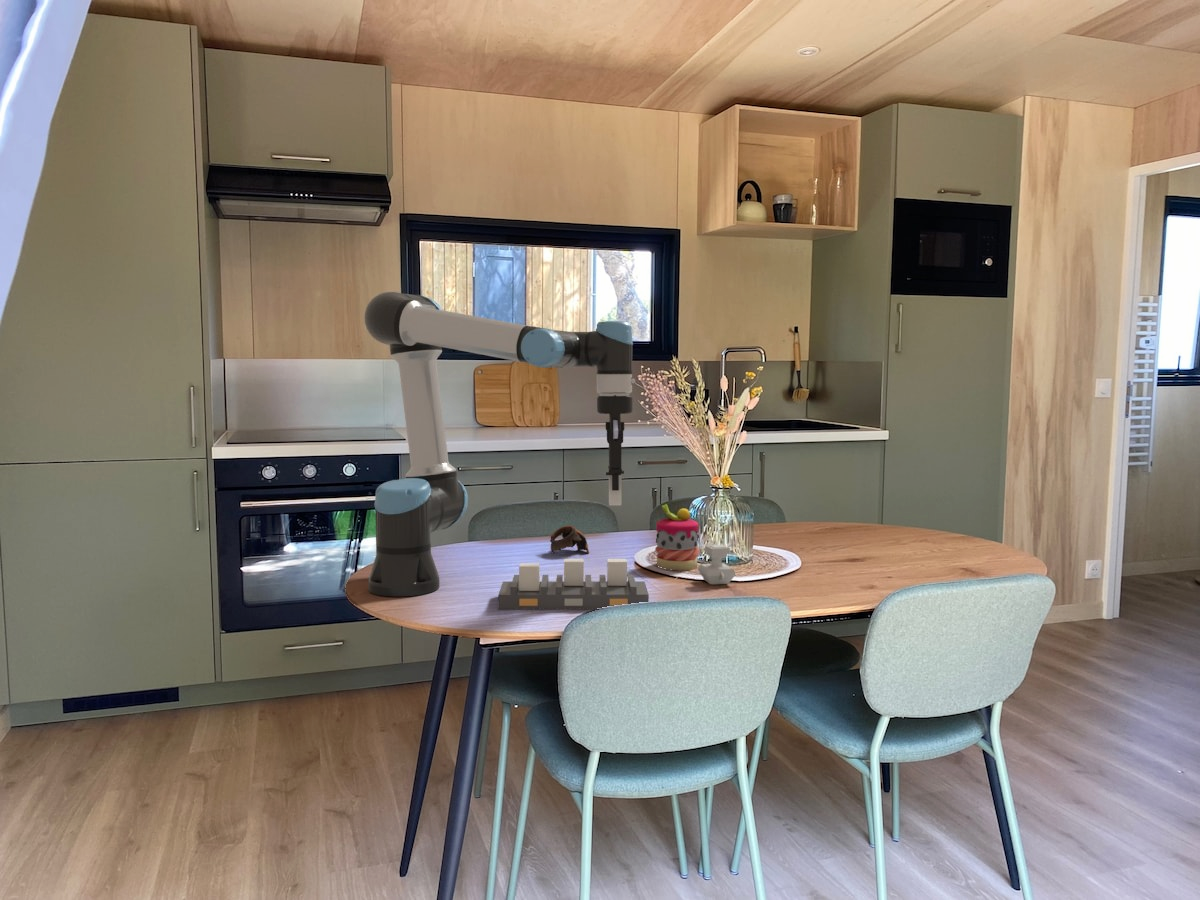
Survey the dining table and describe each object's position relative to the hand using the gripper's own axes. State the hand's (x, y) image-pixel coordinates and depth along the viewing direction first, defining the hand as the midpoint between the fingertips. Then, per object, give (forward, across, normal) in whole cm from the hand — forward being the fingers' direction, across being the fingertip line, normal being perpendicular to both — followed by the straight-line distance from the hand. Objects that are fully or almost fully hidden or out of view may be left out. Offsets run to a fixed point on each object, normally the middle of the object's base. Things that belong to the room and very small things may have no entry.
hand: (615, 504), depth 191 cm
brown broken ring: (+19, +41, +11) cm, 46 cm away
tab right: (+16, -6, 0) cm, 17 cm away
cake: (+19, +25, -16) cm, 35 cm away
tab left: (+16, -11, +18) cm, 26 cm away
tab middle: (+16, -7, +9) cm, 19 cm away
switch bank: (+19, -9, +9) cm, 23 cm away
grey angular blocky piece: (+19, +8, -23) cm, 31 cm away
